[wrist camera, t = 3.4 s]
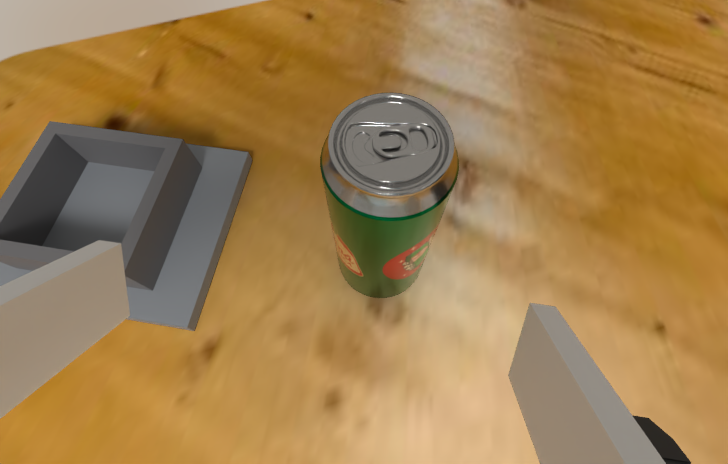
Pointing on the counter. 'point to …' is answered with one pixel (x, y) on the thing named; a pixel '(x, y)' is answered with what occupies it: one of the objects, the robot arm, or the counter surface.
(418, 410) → the counter surface
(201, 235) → the mount
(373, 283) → the soda can
